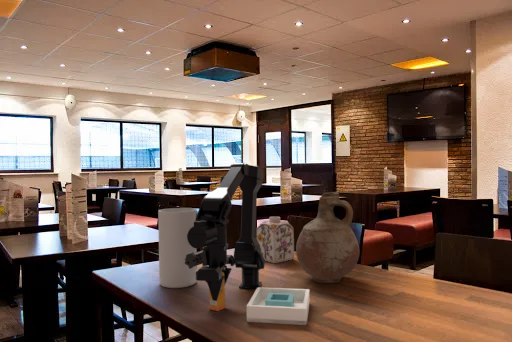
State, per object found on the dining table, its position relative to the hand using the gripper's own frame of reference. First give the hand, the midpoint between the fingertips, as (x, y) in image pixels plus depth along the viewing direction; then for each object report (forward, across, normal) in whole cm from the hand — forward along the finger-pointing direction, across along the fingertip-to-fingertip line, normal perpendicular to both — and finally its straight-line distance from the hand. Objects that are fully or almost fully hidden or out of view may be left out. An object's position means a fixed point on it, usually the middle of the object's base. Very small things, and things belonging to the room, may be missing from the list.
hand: (217, 297), depth 110 cm
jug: (+3, -33, +30) cm, 45 cm away
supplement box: (+3, 0, 0) cm, 3 cm away
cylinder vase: (+3, -22, -20) cm, 30 cm away
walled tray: (+3, 0, +18) cm, 18 cm away
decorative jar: (+3, -61, +8) cm, 62 cm away
